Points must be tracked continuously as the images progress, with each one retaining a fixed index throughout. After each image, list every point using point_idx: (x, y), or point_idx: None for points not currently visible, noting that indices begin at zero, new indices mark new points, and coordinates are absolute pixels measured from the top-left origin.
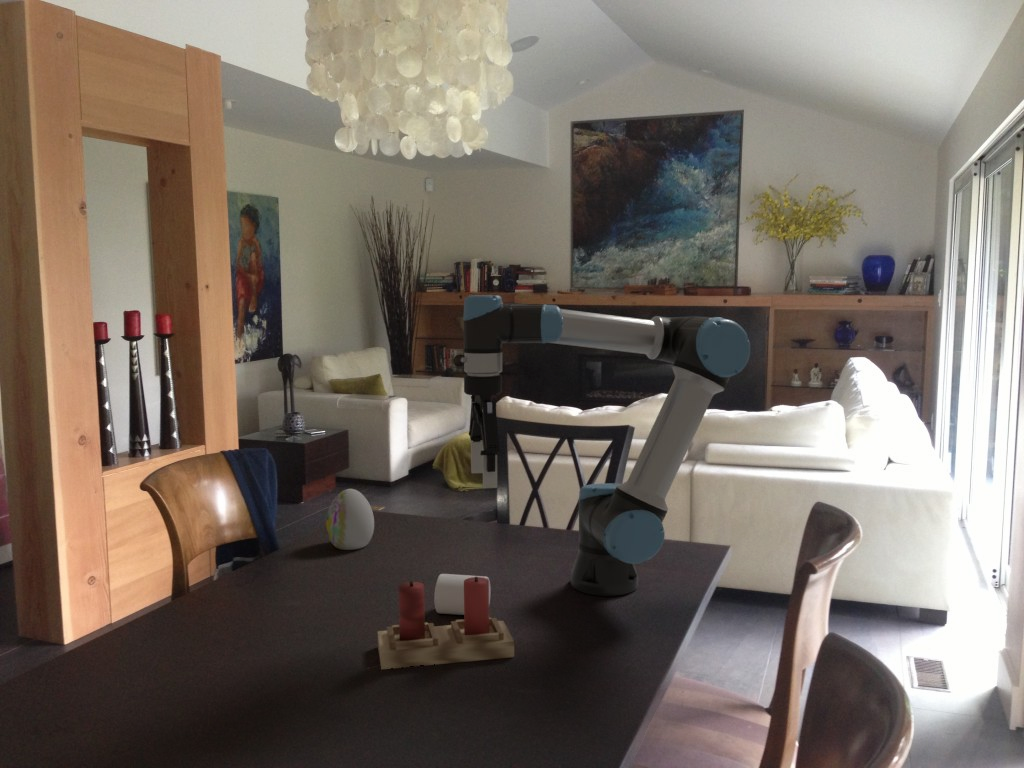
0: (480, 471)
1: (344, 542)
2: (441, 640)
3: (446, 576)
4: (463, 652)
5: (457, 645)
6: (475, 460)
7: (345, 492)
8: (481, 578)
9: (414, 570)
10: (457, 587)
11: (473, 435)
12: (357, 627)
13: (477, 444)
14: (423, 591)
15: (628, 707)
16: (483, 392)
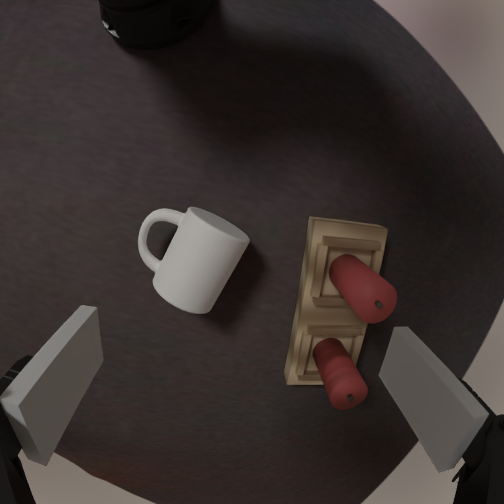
0: (96, 329)
1: None
2: (347, 319)
3: (189, 298)
4: None
5: None
6: (79, 381)
7: None
8: (368, 291)
9: (22, 279)
10: (220, 281)
11: (31, 493)
12: (215, 386)
13: (39, 430)
14: (359, 377)
15: (497, 160)
16: None
